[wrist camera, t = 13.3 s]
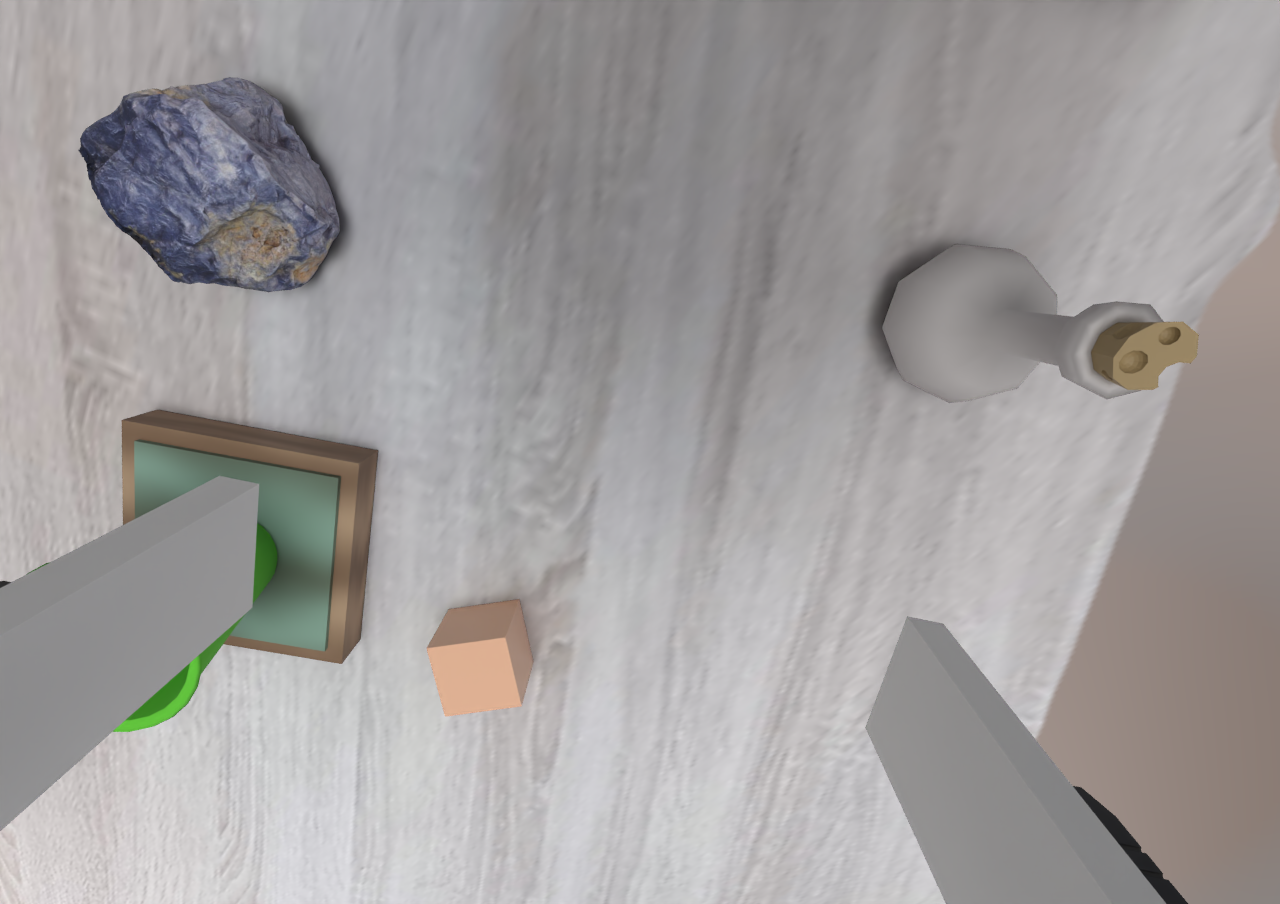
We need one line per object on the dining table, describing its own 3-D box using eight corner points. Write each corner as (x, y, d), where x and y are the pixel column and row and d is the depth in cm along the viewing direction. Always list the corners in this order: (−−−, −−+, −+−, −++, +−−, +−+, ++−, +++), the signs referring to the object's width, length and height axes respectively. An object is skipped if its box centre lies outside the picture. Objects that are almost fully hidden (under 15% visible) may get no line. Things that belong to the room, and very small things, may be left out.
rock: (71, 162, 36) (20, 116, 27) (249, 84, 39) (252, 21, 31) (213, 334, 41) (207, 340, 32) (362, 251, 44) (391, 236, 35)
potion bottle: (1041, 299, 40) (1344, 324, 23) (943, 416, 42) (1154, 520, 25) (933, 212, 39) (1169, 168, 22) (837, 337, 41) (983, 388, 24)
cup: (260, 642, 43) (135, 766, 32) (135, 556, 41) (-39, 657, 31) (340, 546, 41) (236, 643, 30) (213, 452, 39) (56, 520, 29)
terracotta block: (448, 608, 46) (426, 648, 41) (519, 598, 46) (505, 637, 41) (465, 670, 47) (445, 716, 43) (533, 661, 47) (521, 706, 42)
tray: (157, 409, 42) (116, 421, 39) (377, 450, 43) (356, 465, 40) (156, 604, 46) (119, 630, 42) (360, 639, 46) (339, 667, 43)
